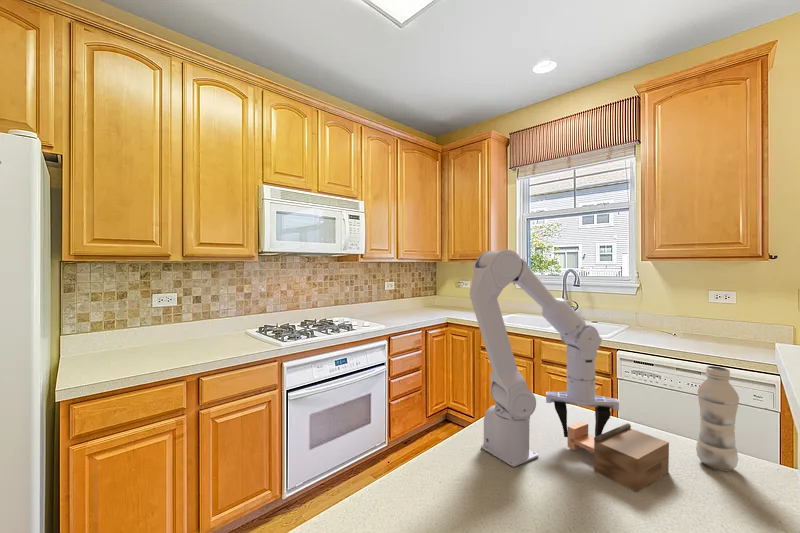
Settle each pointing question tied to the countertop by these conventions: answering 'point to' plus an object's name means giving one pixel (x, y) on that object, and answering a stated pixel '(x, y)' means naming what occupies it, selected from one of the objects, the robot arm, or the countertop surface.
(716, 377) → the plastic bottle
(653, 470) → the dispenser
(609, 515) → the countertop surface
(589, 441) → the peach l-shaped bracket
